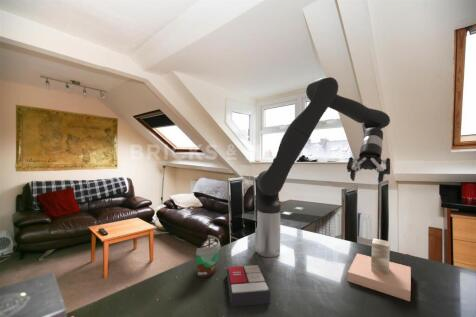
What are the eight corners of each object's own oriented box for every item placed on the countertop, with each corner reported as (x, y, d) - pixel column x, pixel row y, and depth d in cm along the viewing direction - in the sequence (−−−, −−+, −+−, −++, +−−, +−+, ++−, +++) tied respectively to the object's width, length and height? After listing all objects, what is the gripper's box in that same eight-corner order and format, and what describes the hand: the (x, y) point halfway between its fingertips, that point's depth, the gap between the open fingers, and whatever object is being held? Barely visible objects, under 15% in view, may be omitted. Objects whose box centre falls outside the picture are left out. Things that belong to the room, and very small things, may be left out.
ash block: (370, 269, 74) (371, 242, 73) (372, 264, 78) (373, 238, 77) (387, 274, 71) (388, 246, 71) (389, 268, 75) (390, 241, 74)
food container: (214, 281, 72) (214, 250, 72) (196, 279, 73) (195, 249, 73) (224, 262, 84) (224, 236, 84) (208, 260, 86) (208, 234, 85)
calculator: (258, 263, 77) (270, 288, 62) (258, 276, 77) (270, 304, 62) (226, 265, 76) (230, 291, 61) (226, 278, 76) (230, 307, 61)
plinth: (347, 280, 73) (347, 271, 73) (356, 261, 86) (357, 253, 85) (410, 301, 63) (410, 291, 63) (410, 275, 76) (410, 267, 76)
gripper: (350, 142, 94) (343, 172, 85) (392, 142, 85) (388, 175, 77) (352, 155, 98) (346, 184, 90) (392, 155, 90) (389, 188, 81)
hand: (365, 180), depth 83 cm, fingers open, 8 cm apart
